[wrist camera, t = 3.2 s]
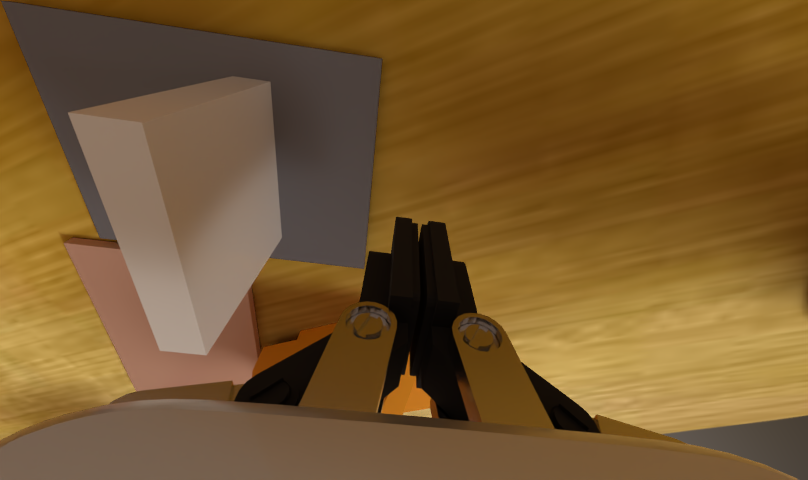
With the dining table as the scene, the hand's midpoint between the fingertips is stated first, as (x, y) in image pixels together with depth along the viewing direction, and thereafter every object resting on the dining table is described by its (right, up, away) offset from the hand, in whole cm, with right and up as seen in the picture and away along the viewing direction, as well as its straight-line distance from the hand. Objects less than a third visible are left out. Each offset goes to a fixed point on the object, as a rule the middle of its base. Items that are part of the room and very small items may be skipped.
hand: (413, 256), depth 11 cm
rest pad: (-16, -6, +12) cm, 20 cm away
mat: (-9, +5, +5) cm, 12 cm away
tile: (-7, +4, +5) cm, 10 cm away
